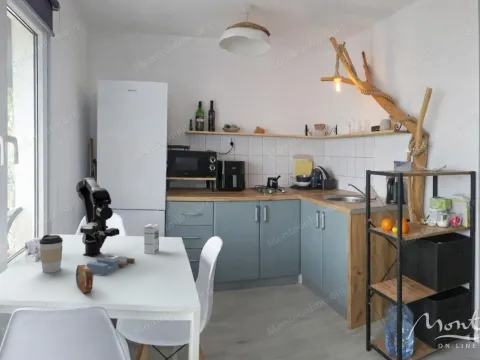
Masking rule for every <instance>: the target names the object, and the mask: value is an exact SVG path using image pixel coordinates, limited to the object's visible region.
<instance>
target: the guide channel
mask: <svg viewBox="0 0 480 360" xmlns="http://www.w3.org/2000/svg"><path fill="white" fill-rule="evenodd" d="M128 259H129V262H128V264H135V262H136V258H134V257H128ZM124 268H125V266H124V263H121V262H118V269H124Z"/></svg>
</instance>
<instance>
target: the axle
mask: <svg viewBox="0 0 480 360" xmlns="http://www.w3.org/2000/svg"><path fill="white" fill-rule="evenodd" d="M105 258H107V259H113V260H118V262H121V263H124V267H126V266H128V265H129V263H128V262H129V259H128V258H129V256H128V257H127V256H121V255H114V254H107V255H106V257H105Z"/></svg>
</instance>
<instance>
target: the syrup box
mask: <svg viewBox="0 0 480 360" xmlns="http://www.w3.org/2000/svg"><path fill="white" fill-rule="evenodd" d="M159 226H160V225H159V224H158V223H157V224H156V223H149V224H147V225H144V226H143V246H144V247H143V249H144V250H143V253H144V254H148V255H155V254H157V253H158V252H159V251H160V227H159Z"/></svg>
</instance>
